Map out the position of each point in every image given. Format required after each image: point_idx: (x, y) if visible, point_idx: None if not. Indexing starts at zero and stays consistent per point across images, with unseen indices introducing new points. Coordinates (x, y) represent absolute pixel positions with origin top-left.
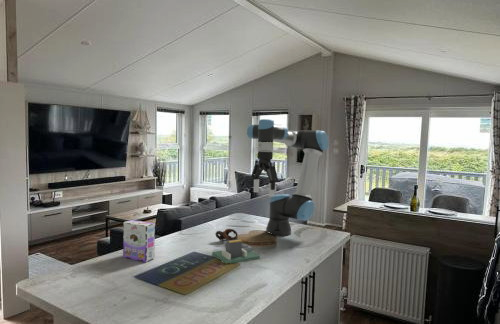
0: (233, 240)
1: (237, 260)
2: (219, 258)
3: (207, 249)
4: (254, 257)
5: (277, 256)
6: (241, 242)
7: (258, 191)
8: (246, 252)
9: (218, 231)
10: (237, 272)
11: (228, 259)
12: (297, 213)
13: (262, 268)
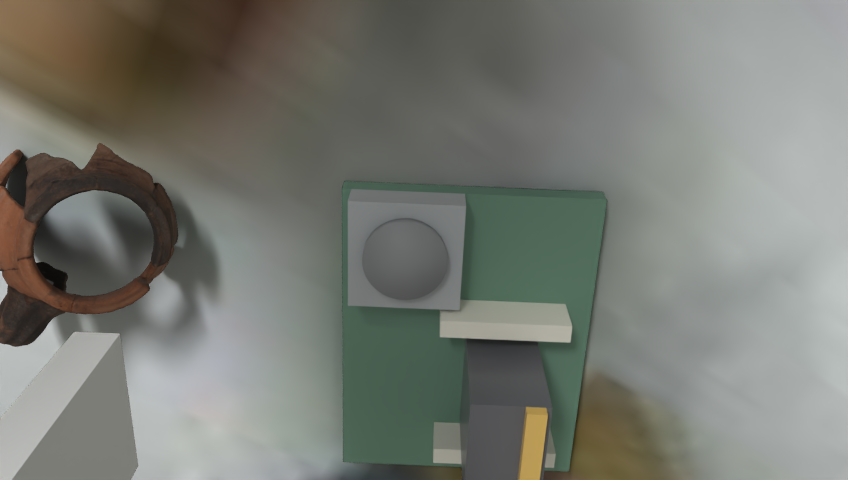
0: (486, 451)
1: (579, 387)
2: None
3: (222, 431)
4: (598, 248)
5: (659, 21)
6: (550, 405)
7: (115, 353)
8: (570, 325)
9: (14, 336)
10: (726, 459)
11: None
12: None
13: (782, 294)
